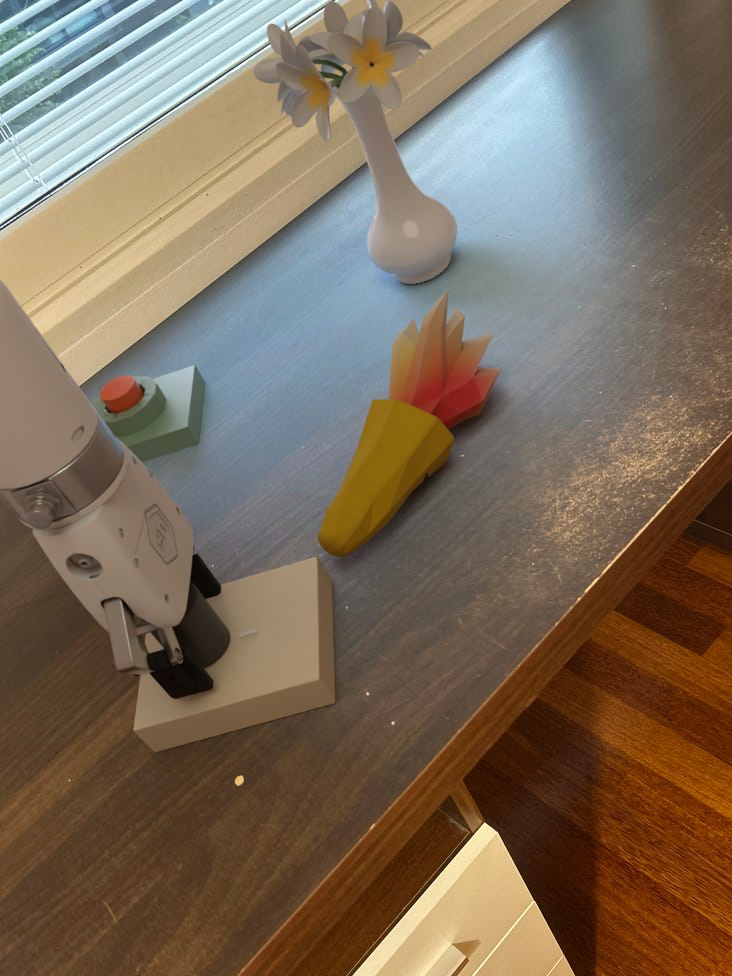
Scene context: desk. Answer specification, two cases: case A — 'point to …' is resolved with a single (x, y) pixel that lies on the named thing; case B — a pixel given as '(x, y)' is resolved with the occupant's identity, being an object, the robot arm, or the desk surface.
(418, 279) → the flower vase
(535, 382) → the desk surface
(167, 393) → the button box
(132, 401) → the button
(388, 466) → the torch
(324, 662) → the panel
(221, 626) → the knob
